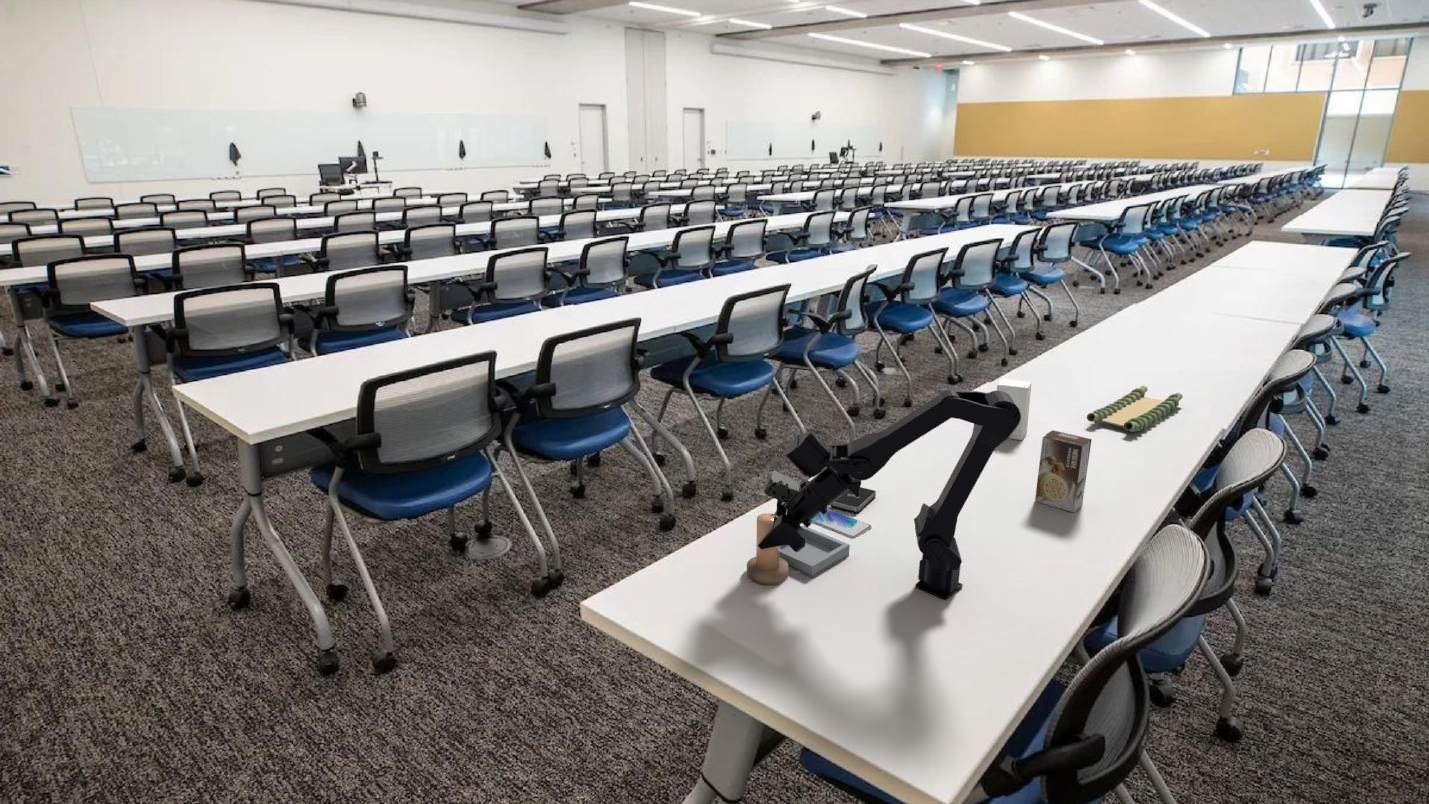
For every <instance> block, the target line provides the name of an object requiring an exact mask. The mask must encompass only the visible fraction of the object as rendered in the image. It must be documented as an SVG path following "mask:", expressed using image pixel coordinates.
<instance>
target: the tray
mask: <svg viewBox="0 0 1429 804" xmlns="http://www.w3.org/2000/svg"><path fill="white" fill-rule="evenodd" d="M800 526H801V527H802V528H803V529H804V530H805V531H806V540H805V547H804V548H802V549H801V550H800V551H799V552H795V551H794V550H793V549H792V548H791V547H790V546H789V545H782V546H780V547H779V557H780V558H782V559H784V560H785V561H786V562H787V563H788V568H790V569H792V570H794V571H796V572H799V573H800V574H803V575H805V576H806V577H809V578H811V579H813V578H815V577H817V576H818V575H820V574H821V573H823V572H824V571H826V570H828V569H830V568H832V567H834V565H836V564H838V563H839V562H841V561H842V560H844V559H847V558H848V557H850V546H851V544H849V543H846V542H844V541H842V540H840V539H837V538H834V537H832V536H830V535H827V534H825V533H823V532H820V531H817V530H815V529H812V528H810V527H808V528H807V527H806V526H805V525H800Z"/></svg>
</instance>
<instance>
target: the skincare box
mask: <svg viewBox="0 0 1429 804" xmlns="http://www.w3.org/2000/svg"><path fill="white" fill-rule="evenodd" d="M996 391H1003V392H1005V393H1007V394H1009V395H1010V397H1011V398H1012V399H1013V401H1014V402H1015V404H1016V405H1017V407H1018V408H1019V411H1020V414H1021V420H1020V423H1019V425H1018V426H1017V428H1016V429H1015V430H1014V431H1013V433H1012V434H1011V435H1010V436H1009V438H1008V439H1011V440H1016V441H1017V440H1018V441H1023V440H1024V438H1025V437H1026V435H1027V434H1028V424H1029V416H1030V415H1029V414H1030V413H1029V412H1030V403H1031V395H1032V382H1031V381H1023V380H1014V379H1007V378H1002V379H1001V380H1000V381H999V382H998V383H997V384H996Z"/></svg>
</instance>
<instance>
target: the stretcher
mask: <svg viewBox="0 0 1429 804" xmlns="http://www.w3.org/2000/svg"><path fill="white" fill-rule="evenodd" d="M1148 391H1149V390H1148V387H1147V386H1146V385H1141V386H1140V387H1138V388H1137V387H1136V388H1134V389H1132V390H1131V391H1130V392H1129V393H1128V394H1125V395H1123V396H1122V397H1121V398H1118V399H1117V400H1115V401H1113V402H1112V403H1109V404H1107V405H1105V406H1103V407H1100V408H1097V409H1095V410H1094V411H1093V412H1089V413H1088V414H1087V415H1086V420H1087V421H1088V422H1093V423H1094V424H1100V423H1105V424H1109V425H1110V424H1111V425H1114V426H1119V427H1123V428H1124V430H1125V431H1128V432H1130V433H1134V432H1139V431H1141V430H1145V429H1146V428H1148V427H1150V426H1152V425H1155V424H1156V423H1157V422H1158V421H1161V420H1162V419H1163V418H1165V417H1166V416H1167V415H1169V414H1170V413H1171V412H1172V411H1174V410H1175V409H1176V408H1177V407H1179V404H1180V403H1179V402H1180V401H1181V399H1183V394H1182V393H1181V392H1176V393H1173V394H1172V393H1171V394H1170V395H1168V397H1167V398H1165V399H1164V400H1161V399H1157V398H1153V397H1152V398H1151V397H1148V396H1145V394H1146V392H1148Z"/></svg>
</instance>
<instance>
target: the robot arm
mask: <svg viewBox="0 0 1429 804" xmlns="http://www.w3.org/2000/svg"><path fill="white" fill-rule="evenodd" d="M950 419H955V420H956V419H958V420H962V421H965V422H966V423H971V424H973V427H972V432H971V436H970V438H969V441H968V442H967V443H966V446H965V448H964V450H963V452H962V453H961V455H960V457H959V459H958V461H957V463H956V465H955V466H954V469H953V470H952V472H951V474H950V475H949V478H948V480H947V482H946V483H945V486H944V487H943V489H942V491H941V493H940V494H939V497H938V498H937V500H936V501H935V502H934V503H932V504H931V505H928V504H926V503H922V505H921V507H920V511H919V513H918V515H917V516H916V517H914V518H913V521H914V522H913V523H914V531H915V537H916V542H917V547H918V549H919V551H920V553H921V554H922V555H921V556H922V557H921V560H919V565H918V577H917V578H918V580H919V581H917V582H916V583H915V585H914V586H915V588H917V589H919V590H922V591H924V592H926V593H929V594H932V595H933V596H935V597H938V598H939V599H943V600H947V599H949V598H950V597H951V596H952V595H954V594H955V593H957V592H958V591H959V590H961V589H962V588H963V583H962V582H960V574H961V566H962V565H961V564H962V562H963V560H962V557H961V556H962V555H961V553H960V550H959V547H958V543H957V539H956V538H955V534H956V529H957V524H958V523H957V522H958V517H959V515H960V513H961V511H962V509H963V507H964V506H965V504H966V503H967V500H968V498H969V497H970V495H971V493H972V491H973V490H974V487H975V485H976V484H977V482H978V480H979V478H980V476H981V475H982V473H983V471H984V469H985V467H986V466H987V463H989V460H990V458H991V456H992V454H993V452H994V451H995V450H996V448H999V446H1001V445H1002V444H1003V443H1004V442H1006V441H1007V440H1008V439H1010V438H1009V436H1010V435H1011V434H1012V433H1013V431H1014V430H1015V429H1016V428H1017V426H1018V425H1019V423H1020V420H1021V414H1020V411H1019V408H1018V407H1017V405H1016V404H1015V402H1014V401H1013V399H1012V398H1011V397H1010V395H1009V394H1007V393H1005V392H1003V391H997V390H992V391H990V392H985V391H978V390H968V391H967V390H965V391H964V390H963V391H961V390H953V389H944V390H942V391H940V393H938V395H936V396H935V397H933V398H932V399H930V400H929V401H928V402H926V403H924V404H923V405H921V406H920V407H918V408H916V409H915V410H913V411H912V412H910V413H908V414H907V415H905V416H904V417H902V418H901V419H899V420H897V421H896V422H895V423H893V424H891V425H890V426H888V427H886V428H885V429H883V430H881V431H878V432H874V433H873V432H872V433H869V434H866V435H864V436H861V437H859V438H857V439H854V440H852V441H851V442H849V443H844V444H833V445H831V444H830V445H828V446H827V445H826V444H825V443H824V442H822V441H821V439H820V438H819V437H818V435H817V434H816V433H815V431H813V430H812V429H811V430H808V431H807V433H803V434H801V435H799V436H797V437H795V438H794V439H793V440H792V441H791V442H790V443H789V445H787V446H786V448H785V449H784V451H783V453H782V454H783V456H784V457H785V458H786V459H787V461H789V462H790V463H791V464H792V466H794V467H795V468H796V470H798V471H799V472H800V474H801V475H803V477H808V478H812V479H811V480H809V479H804V480H802V481H801V482H798V481H796V480H794V479H792V478H791V477H788V476H787V475H785V474H783V473H781V472H779V471H777V470H773V471H772V472H771V474H770V475H769V478H768V479H767V481H766V483H765V484H764V485H765V486H764V491H763V493H764V494H765V495H767V496H768V497H770V498H774V499H775V500H777V501H776V510H775V512H774V513H773V514H776V515H778V516H779V517H778V518H777V517H776V516H774V521H773V528H772V529H771V530H770V531H769V532H768V533H767V535H766V536H765V537H764V538H763V539H762V540H761V542H760V543H759V544H758V547H759V548H760V549H766V548H771V547H776V546H782V545H789V546H790V547H791V548H792V549H793V550H794V551H795V552H799V551H800V550H801V549H802V548H804V547H805V540H806V531H805V530H804V529H803V528H802V527H801V526H802V525H803V526H806V527H807V528H810V526H811V525H812V522H811V520H812V519H813V518H815V517H816V516H817V515H818V514H819V513H822V514H823V515H824V514H825V513H826V512H827V511H828V509H829V507H830V505H831V504H832V503H833V502H834V501H836V500H837V499H838V498H839V497H841V496H842V495H843V494H844V493H846V492H847V491H848V490H850V491H851V492H852V493H853V494H854V495H855V496H856V497H859V496H860V487H862V481H867V480H869V479H871V478H872V477H875V475H876V474H877V473H878V472H879V471H881V469H883V468H884V467H885V466H886V465H887V463H888V462H889V461H890V459H891V458H892V457H893V456H895V454H896V453H897V452H899V451H900V450H902V449H904V448H906V447H907V446H909V445H911V443H914V442H916V441H917V440H918V439H920V438H921V437H924V436H925V435H926V434H928V433H930V432H931V431H933V430H935V429H936V428H938V427H939V426H941V425H943V424H944V423H945V422H947V421H950Z"/></svg>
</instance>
